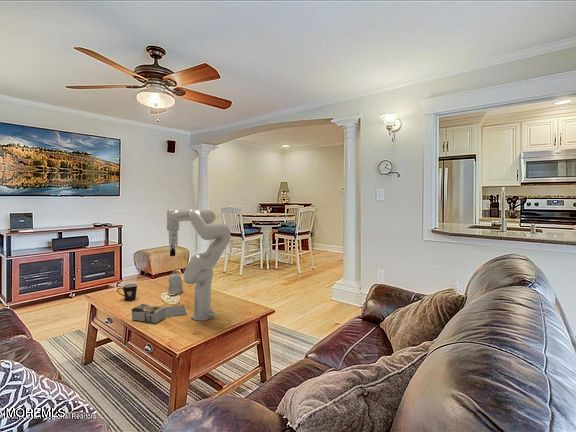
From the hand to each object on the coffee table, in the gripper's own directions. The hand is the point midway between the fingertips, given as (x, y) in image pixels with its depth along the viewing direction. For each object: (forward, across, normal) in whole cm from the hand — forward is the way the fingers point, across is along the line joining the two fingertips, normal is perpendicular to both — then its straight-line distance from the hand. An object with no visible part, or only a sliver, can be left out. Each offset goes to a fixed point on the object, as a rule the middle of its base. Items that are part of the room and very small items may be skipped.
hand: (172, 255), depth 203 cm
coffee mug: (+34, +21, +27) cm, 47 cm away
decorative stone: (+33, +22, -4) cm, 40 cm away
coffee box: (+29, -25, +8) cm, 39 cm away
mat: (+33, -12, +5) cm, 35 cm away
